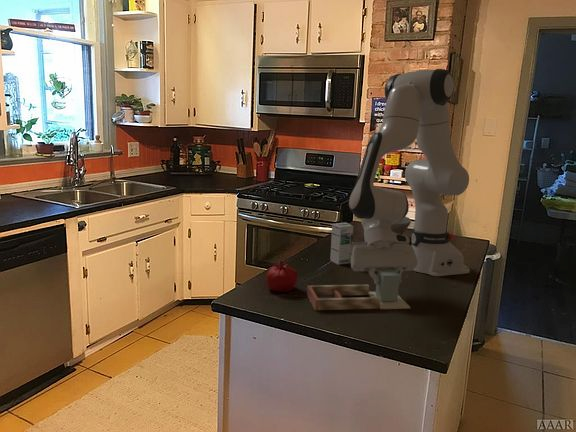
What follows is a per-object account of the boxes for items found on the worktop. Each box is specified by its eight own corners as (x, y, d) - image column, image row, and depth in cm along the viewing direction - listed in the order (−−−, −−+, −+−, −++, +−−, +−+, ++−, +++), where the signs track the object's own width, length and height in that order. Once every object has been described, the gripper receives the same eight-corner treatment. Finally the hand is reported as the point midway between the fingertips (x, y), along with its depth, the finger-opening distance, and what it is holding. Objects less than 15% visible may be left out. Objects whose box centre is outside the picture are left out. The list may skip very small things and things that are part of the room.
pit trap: (335, 294, 147) (335, 284, 147) (345, 309, 136) (346, 299, 136) (306, 294, 146) (307, 285, 145) (315, 310, 135) (315, 300, 134)
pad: (394, 292, 151) (394, 291, 151) (410, 308, 139) (410, 307, 139) (366, 292, 149) (366, 291, 149) (380, 309, 137) (380, 307, 137)
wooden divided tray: (367, 293, 149) (367, 284, 148) (379, 308, 138) (380, 298, 137) (310, 294, 146) (310, 285, 145) (318, 310, 135) (319, 300, 134)
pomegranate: (294, 297, 144) (296, 267, 142) (262, 293, 146) (263, 264, 144) (299, 285, 154) (301, 257, 151) (269, 281, 155) (270, 254, 153)
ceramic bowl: (377, 230, 229) (379, 210, 227) (419, 241, 213) (421, 219, 210) (346, 237, 214) (348, 215, 212) (389, 249, 198) (391, 226, 196)
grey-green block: (391, 294, 147) (393, 269, 145) (397, 301, 142) (399, 275, 140) (375, 295, 146) (377, 269, 144) (381, 301, 141) (383, 275, 139)
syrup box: (338, 265, 175) (340, 226, 172) (329, 260, 180) (332, 222, 177) (351, 263, 178) (354, 225, 175) (342, 258, 183) (345, 221, 180)
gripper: (349, 237, 145) (357, 279, 138) (413, 237, 149) (424, 277, 141) (344, 247, 151) (351, 288, 143) (406, 246, 154) (416, 286, 147)
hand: (388, 283), depth 142 cm, fingers closed on grey-green block, 5 cm apart
